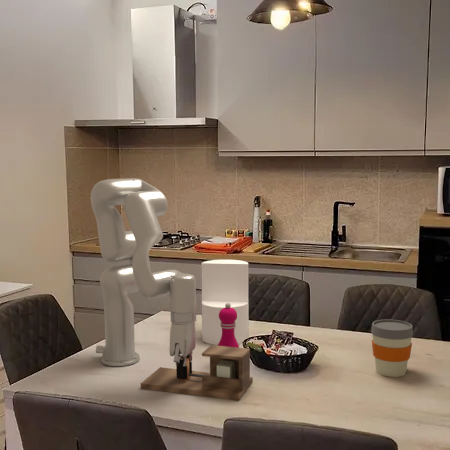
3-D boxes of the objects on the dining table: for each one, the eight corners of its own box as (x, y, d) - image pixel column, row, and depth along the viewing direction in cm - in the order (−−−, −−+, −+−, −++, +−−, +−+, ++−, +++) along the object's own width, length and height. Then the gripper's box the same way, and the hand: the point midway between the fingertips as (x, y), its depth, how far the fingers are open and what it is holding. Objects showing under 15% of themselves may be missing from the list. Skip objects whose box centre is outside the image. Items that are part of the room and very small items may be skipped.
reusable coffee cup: (414, 367, 191) (416, 321, 189) (408, 381, 180) (410, 332, 178) (374, 362, 196) (375, 317, 195) (366, 375, 185) (367, 327, 183)
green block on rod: (176, 381, 177) (176, 361, 176) (182, 375, 182) (182, 355, 181) (230, 387, 172) (230, 367, 171) (235, 381, 177) (235, 361, 176)
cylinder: (206, 330, 233) (205, 259, 230) (250, 332, 231) (250, 259, 227) (198, 344, 216) (197, 267, 213) (246, 346, 214) (245, 268, 210)
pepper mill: (237, 367, 193) (236, 306, 190) (215, 365, 194) (214, 305, 192) (241, 359, 200) (240, 300, 197) (219, 358, 201) (219, 299, 199)
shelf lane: (140, 388, 176) (139, 350, 175) (160, 371, 189) (159, 336, 188) (239, 400, 167) (239, 361, 165) (252, 382, 180) (252, 345, 179)
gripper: (181, 308, 186) (182, 366, 188) (160, 322, 170) (161, 385, 172) (204, 310, 183) (205, 368, 186) (185, 324, 168) (186, 388, 170)
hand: (184, 375), depth 179 cm, fingers closed on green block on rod, 3 cm apart
